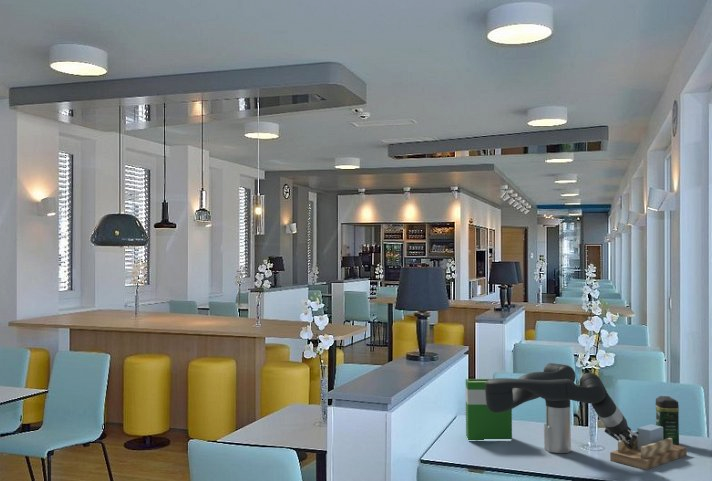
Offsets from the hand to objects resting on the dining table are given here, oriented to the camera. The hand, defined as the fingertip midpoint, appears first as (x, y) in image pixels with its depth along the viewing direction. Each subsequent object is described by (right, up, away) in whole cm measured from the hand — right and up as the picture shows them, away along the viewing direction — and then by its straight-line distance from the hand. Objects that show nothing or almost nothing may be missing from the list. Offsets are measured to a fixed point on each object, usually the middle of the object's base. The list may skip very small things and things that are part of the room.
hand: (631, 446), depth 252 cm
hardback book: (-45, -7, +35) cm, 57 cm away
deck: (+10, -6, +7) cm, 14 cm away
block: (+11, -3, +9) cm, 14 cm away
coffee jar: (+25, -7, +26) cm, 37 cm away
